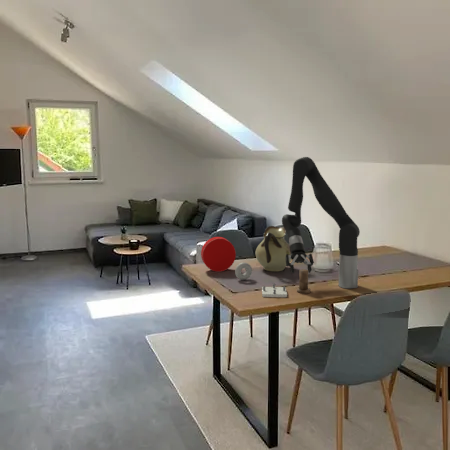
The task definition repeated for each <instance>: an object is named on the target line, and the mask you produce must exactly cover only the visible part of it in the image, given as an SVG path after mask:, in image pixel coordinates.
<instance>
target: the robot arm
mask: <svg viewBox="0 0 450 450" xmlns="http://www.w3.org/2000/svg"><path fill="white" fill-rule="evenodd" d="M292 166H293V167H292V181H291V183H292V184H291V190H290V195H289V202H288V205H287V209H288V211H290V212H292V213H293V214H290V213H289V214H284V215H283V216H282V218H281V223H282V227H284V228H285V230H286V235H287V239H288V244H289V247H290V252H291V255H288V254H286V257H285V259H286V267H289V269H290V272H291V273H292V274H294V273H295V267H294V264H304V265H306V266H307V270H308V274H311V272H312V266H314V263H315V262H314V261H315V260H314V258H313V254H312V253H308V254H306V251H305V246H304V240H303V238H302V234H301V230H300V229H299V227H300V226H301V225H302V213H301V212H302V205H303V200H304V181H305V178H307V180H308V181H309V182H310V184H311V187H312V190H313V194H314V197H315V199H316V201H317V203H318V204H319V205H320V207H321V208H322V209H323V211H324V212H325V213H326V214H327V215H329V217H331V218H332V219H333V220H334V222H335V223H336V225H338V228H339V232H338V250H339V256H338V257H339V259H338V261H339V263H338V287H339V288H342V289H357V288H359V287H358V283H359V269H358V260H359V259H358V256H359V250H358V237H359V236H360V229H359V228H360V227H359V226H358V225H357V224H356V223H355V221H354V220H353V219H352V218H351V216H350V215H349V214H348V213H347V212H346V210H345V209H344V207H343V205H342V204H341V202H340V200H339V198H338V197H337V195H336V194H335V192H334V191H333V190H332V188H331V187H330V185H329V184H328V183H327V182H326V180H325V178H324V177H323V176H322V174H321V172H320V171H319V168H318V167H317V165H316V163H315V161H314V160H313V159H312V158H311V157H309V156H303V157H299V158H297V159H295V160H294V162H293V165H292ZM290 258H291V261H290V263H289V259H290Z"/></svg>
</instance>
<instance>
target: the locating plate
mask: <svg viewBox="0 0 450 450" xmlns="http://www.w3.org/2000/svg"><path fill="white" fill-rule="evenodd" d="M261 295H262V298H287V297H288V292H287V288H286V286H276V284H275V283H272V286H264V285H263V286H261Z"/></svg>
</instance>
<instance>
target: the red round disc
mask: <svg viewBox="0 0 450 450" xmlns="http://www.w3.org/2000/svg"><path fill="white" fill-rule="evenodd" d="M236 253H237V252H236V249H235V247H234V245H233V244H232V242H231V241H230V240H228V239H227V238H225V237H222V236H214V237H213V236H212V237H211V238H209V239H208V240H206V241H205V242H204V244H203V245H202V247H201V251H200V256H201V260H202V262H203V263H204V265H205V266H206V268H207V269H209V270H211V271H213V272H217V273H218V272H223V271H226V270H228V269H230V268H231V267H232V266H233V264H234V262H235V260H236V256H237V254H236Z"/></svg>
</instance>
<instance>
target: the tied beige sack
mask: <svg viewBox="0 0 450 450" xmlns="http://www.w3.org/2000/svg"><path fill="white" fill-rule="evenodd" d="M286 235H287V232H286V230H285V228H284V227H283V226H279V227H278V226H275V225H269V226H267V227H266V228H265V230H264V233H263V239H262V241H261V242H260V243H259V244H258V245H257V247H256V249H255V252H254V253H255V257H256V260H257V262H258V263H259V265H261V267H263V270H265V271H267V272H282V271H284V270H285V268H286V267H287V266H286V259H285V257H286V254H288V255H291V252H290V247H289V242H287V240H286V239H285V237H286ZM291 262H292V259H291V258H290V259H289V263H291Z"/></svg>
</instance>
